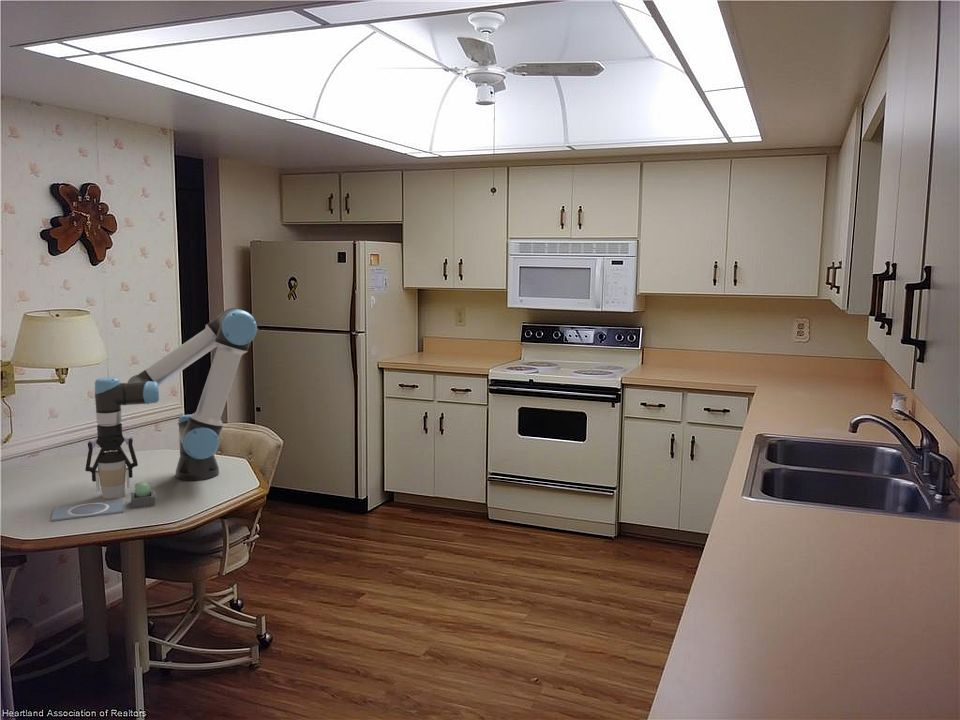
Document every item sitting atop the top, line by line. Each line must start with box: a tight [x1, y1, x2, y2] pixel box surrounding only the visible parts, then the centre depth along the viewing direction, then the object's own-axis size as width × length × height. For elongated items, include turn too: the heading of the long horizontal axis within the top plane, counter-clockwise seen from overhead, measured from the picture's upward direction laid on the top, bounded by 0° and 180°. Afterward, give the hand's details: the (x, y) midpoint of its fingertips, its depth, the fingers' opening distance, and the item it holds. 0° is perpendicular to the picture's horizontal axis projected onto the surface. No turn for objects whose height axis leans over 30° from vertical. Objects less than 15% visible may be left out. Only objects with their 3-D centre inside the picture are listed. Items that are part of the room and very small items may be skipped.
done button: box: [134, 481, 151, 498], centre depth 247 cm, size 4×4×4 cm
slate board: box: [50, 499, 124, 522], centre depth 240 cm, size 20×12×1 cm, turn 115°
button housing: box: [130, 490, 156, 509], centre depth 247 cm, size 7×7×3 cm
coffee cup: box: [97, 450, 127, 500], centre depth 254 cm, size 9×9×15 cm
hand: (113, 488), depth 255 cm, fingers closed on coffee cup, 9 cm apart
